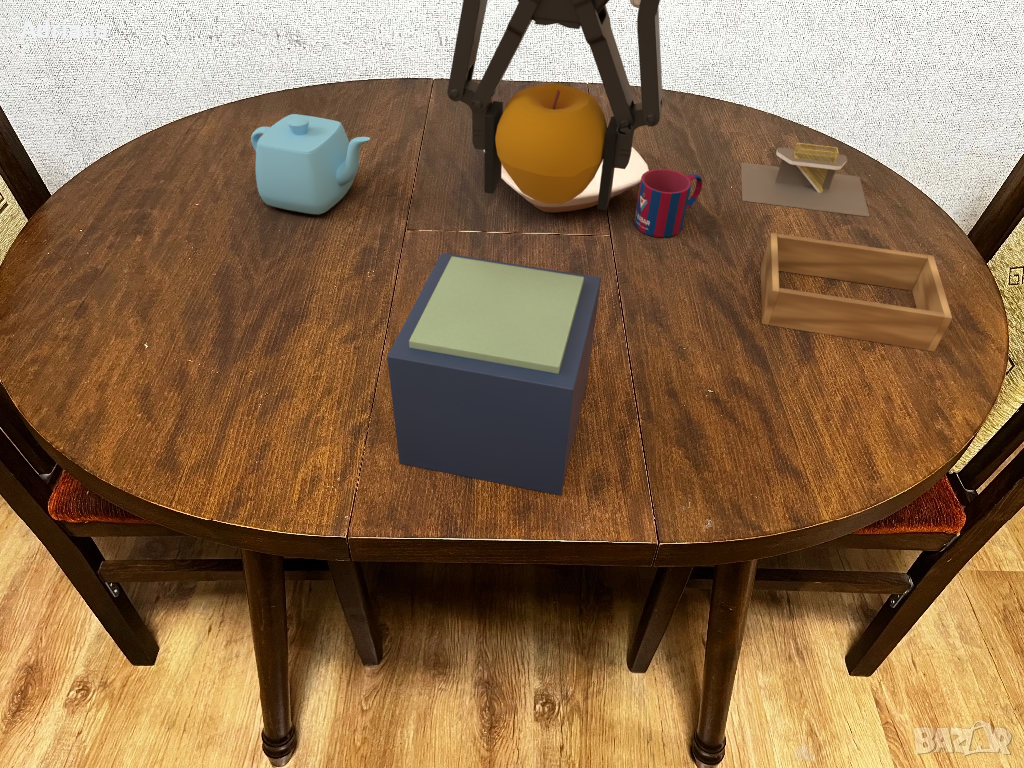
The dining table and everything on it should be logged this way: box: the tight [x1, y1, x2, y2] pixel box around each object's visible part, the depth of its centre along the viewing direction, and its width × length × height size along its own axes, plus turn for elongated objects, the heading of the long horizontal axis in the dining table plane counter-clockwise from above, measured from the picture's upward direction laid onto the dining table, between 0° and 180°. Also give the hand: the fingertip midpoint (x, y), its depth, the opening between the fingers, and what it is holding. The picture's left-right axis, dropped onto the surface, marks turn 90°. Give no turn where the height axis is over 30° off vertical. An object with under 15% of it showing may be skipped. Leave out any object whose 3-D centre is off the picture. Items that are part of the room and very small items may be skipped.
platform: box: [740, 142, 870, 218], centre depth 113 cm, size 12×18×7 cm, turn 78°
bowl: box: [483, 146, 650, 213], centre depth 111 cm, size 22×22×5 cm
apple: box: [495, 83, 608, 204], centre depth 59 cm, size 8×8×9 cm
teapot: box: [250, 113, 371, 215], centre depth 105 cm, size 12×18×12 cm
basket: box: [760, 232, 953, 352], centre depth 93 cm, size 13×20×5 cm, turn 77°
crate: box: [386, 252, 602, 496], centre depth 74 cm, size 16×16×14 cm
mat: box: [409, 257, 584, 374], centre depth 69 cm, size 13×13×1 cm
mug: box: [633, 168, 703, 239], centre depth 105 cm, size 7×10×7 cm
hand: (548, 192), depth 62 cm, fingers closed on apple, 9 cm apart
